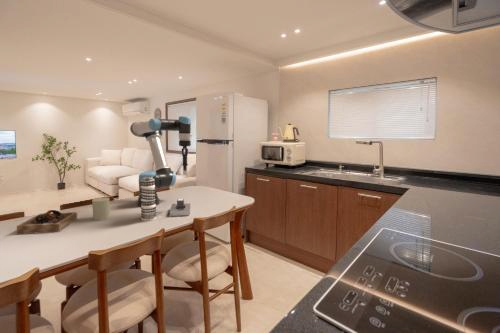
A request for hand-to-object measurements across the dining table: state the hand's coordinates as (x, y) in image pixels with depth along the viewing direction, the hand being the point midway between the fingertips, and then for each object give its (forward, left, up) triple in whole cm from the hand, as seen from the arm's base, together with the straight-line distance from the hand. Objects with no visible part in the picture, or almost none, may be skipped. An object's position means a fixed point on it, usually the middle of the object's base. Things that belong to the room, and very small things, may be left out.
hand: (185, 175), depth 178 cm
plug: (-3, -8, -23) cm, 25 cm away
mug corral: (-72, -22, -23) cm, 79 cm away
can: (-49, -12, -24) cm, 56 cm away
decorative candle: (-21, -18, -24) cm, 36 cm away
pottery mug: (-74, -18, -24) cm, 80 cm away
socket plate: (-3, -8, -23) cm, 25 cm away
